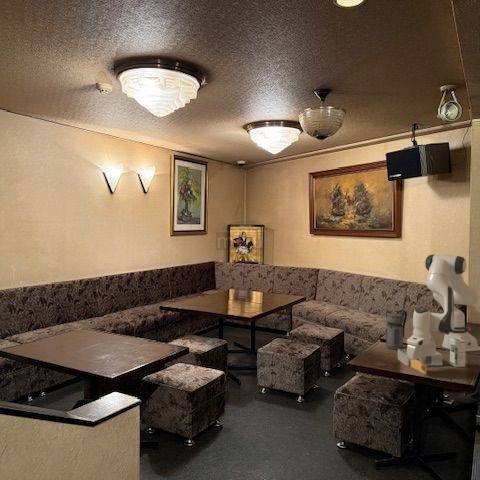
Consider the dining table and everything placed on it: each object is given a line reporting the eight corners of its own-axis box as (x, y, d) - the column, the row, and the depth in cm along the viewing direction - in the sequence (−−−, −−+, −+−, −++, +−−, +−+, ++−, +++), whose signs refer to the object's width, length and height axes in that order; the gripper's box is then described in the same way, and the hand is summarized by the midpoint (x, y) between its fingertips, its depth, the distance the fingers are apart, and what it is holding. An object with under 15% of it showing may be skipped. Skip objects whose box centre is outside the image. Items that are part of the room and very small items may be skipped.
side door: (426, 374, 211) (427, 363, 211) (423, 374, 211) (423, 364, 211) (411, 365, 224) (411, 356, 224) (408, 366, 224) (408, 356, 224)
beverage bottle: (409, 350, 253) (409, 310, 252) (387, 350, 254) (387, 310, 253) (403, 345, 263) (404, 307, 263) (382, 345, 264) (383, 307, 264)
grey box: (429, 357, 239) (429, 346, 239) (442, 365, 225) (442, 353, 225) (396, 357, 238) (396, 346, 238) (406, 365, 224) (406, 354, 224)
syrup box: (449, 363, 228) (449, 338, 227) (459, 363, 228) (459, 337, 228) (455, 367, 222) (455, 340, 222) (465, 366, 223) (466, 340, 222)
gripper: (428, 334, 224) (428, 359, 225) (404, 340, 213) (404, 366, 214) (439, 337, 219) (439, 362, 219) (415, 343, 208) (415, 370, 209)
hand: (422, 364), depth 216 cm, fingers closed, pressing on side door
